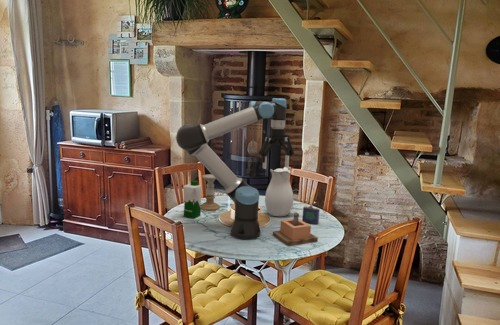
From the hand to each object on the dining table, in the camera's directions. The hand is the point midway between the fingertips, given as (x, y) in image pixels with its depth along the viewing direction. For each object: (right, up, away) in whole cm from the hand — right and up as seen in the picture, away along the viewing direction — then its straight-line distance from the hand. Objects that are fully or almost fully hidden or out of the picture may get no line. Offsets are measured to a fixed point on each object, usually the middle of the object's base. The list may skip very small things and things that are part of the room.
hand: (275, 168), depth 200 cm
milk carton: (-47, -28, +14) cm, 56 cm away
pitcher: (+5, -28, +29) cm, 40 cm away
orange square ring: (+9, -33, -13) cm, 36 cm away
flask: (+20, -31, +11) cm, 39 cm away
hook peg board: (+9, -35, -13) cm, 38 cm away
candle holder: (-38, -25, +31) cm, 56 cm away
